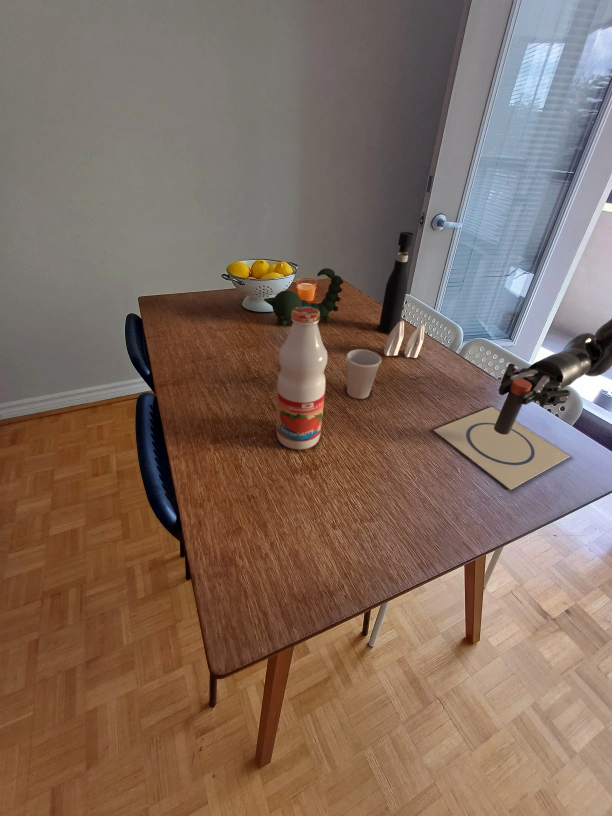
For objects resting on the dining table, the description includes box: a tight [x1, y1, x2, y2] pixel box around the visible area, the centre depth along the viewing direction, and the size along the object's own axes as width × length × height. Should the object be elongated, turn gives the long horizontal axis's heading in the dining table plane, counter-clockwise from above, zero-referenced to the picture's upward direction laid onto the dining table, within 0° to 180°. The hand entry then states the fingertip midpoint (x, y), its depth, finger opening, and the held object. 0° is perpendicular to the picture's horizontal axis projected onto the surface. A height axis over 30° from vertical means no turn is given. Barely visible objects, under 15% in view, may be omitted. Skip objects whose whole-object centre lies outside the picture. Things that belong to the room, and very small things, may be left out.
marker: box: [494, 379, 532, 435], centre depth 82 cm, size 3×3×12 cm
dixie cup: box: [345, 348, 382, 400], centre depth 97 cm, size 8×8×10 cm
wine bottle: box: [378, 231, 414, 335], centre depth 123 cm, size 6×6×30 cm
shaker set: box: [383, 320, 425, 359], centre depth 114 cm, size 12×4×11 cm, turn 103°
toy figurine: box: [263, 267, 344, 327], centre depth 127 cm, size 9×19×25 cm
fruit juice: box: [275, 306, 329, 450], centre depth 76 cm, size 9×9×28 cm
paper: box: [432, 406, 570, 491], centre depth 86 cm, size 20×20×1 cm
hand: (511, 395), depth 78 cm, fingers closed on marker, 3 cm apart
